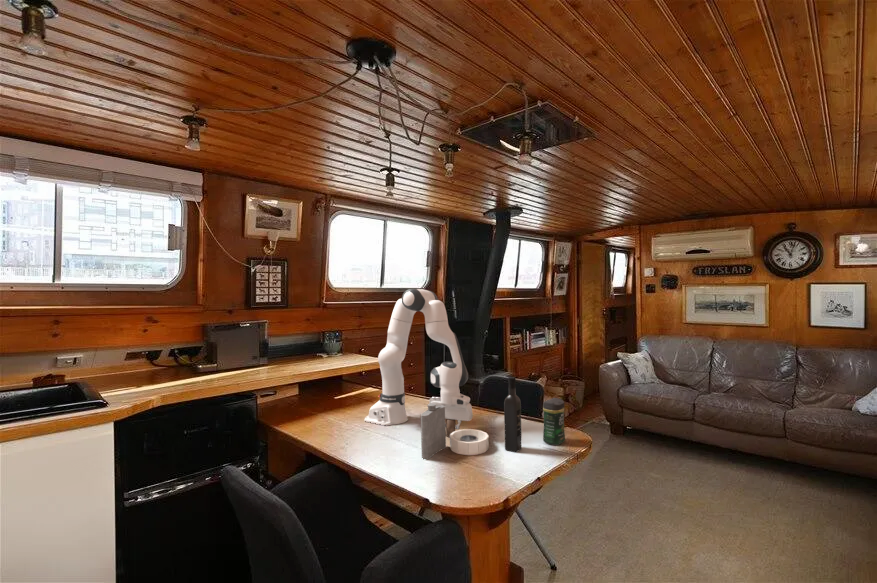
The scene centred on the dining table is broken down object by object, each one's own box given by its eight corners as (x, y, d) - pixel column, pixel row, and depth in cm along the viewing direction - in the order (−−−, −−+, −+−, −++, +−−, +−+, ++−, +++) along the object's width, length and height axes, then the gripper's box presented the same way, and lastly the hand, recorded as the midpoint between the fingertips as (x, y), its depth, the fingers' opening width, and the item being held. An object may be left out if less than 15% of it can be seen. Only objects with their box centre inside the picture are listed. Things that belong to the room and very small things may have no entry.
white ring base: (444, 451, 174) (444, 439, 174) (457, 438, 189) (457, 427, 189) (482, 457, 168) (481, 444, 168) (492, 442, 183) (492, 431, 182)
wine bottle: (522, 448, 176) (521, 377, 175) (516, 452, 171) (515, 379, 171) (510, 445, 179) (508, 375, 179) (504, 450, 174) (502, 378, 174)
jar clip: (458, 447, 176) (458, 439, 176) (463, 440, 183) (463, 434, 183) (474, 449, 173) (474, 441, 173) (479, 443, 180) (479, 436, 180)
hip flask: (426, 460, 166) (425, 409, 166) (418, 458, 168) (417, 408, 168) (447, 446, 180) (446, 400, 179) (439, 445, 182) (438, 398, 181)
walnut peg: (445, 437, 191) (445, 419, 191) (448, 434, 195) (448, 417, 194) (453, 438, 189) (453, 420, 189) (456, 435, 193) (456, 417, 193)
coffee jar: (557, 447, 176) (556, 403, 176) (540, 442, 182) (539, 400, 181) (568, 440, 183) (567, 398, 183) (551, 436, 189) (550, 395, 188)
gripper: (426, 398, 193) (427, 428, 193) (469, 401, 185) (469, 433, 185) (432, 394, 199) (432, 423, 199) (473, 398, 191) (473, 428, 191)
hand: (450, 428), depth 192 cm, fingers open, 5 cm apart
